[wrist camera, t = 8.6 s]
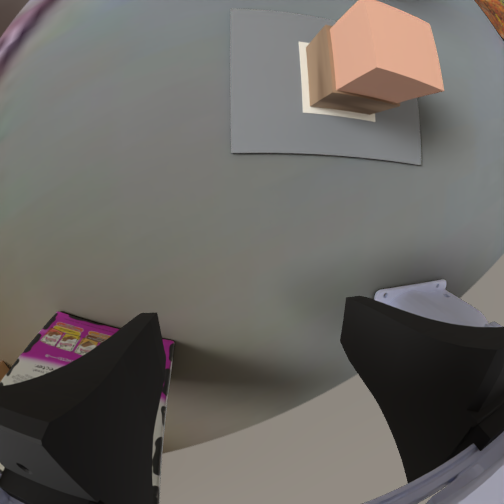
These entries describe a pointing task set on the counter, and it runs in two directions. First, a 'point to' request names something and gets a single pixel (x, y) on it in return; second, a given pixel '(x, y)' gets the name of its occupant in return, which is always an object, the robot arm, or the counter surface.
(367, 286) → the counter surface
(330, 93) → the walnut block
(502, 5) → the tin
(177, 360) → the counter surface
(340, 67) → the terracotta block
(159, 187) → the counter surface
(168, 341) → the candy bar box
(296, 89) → the mat
